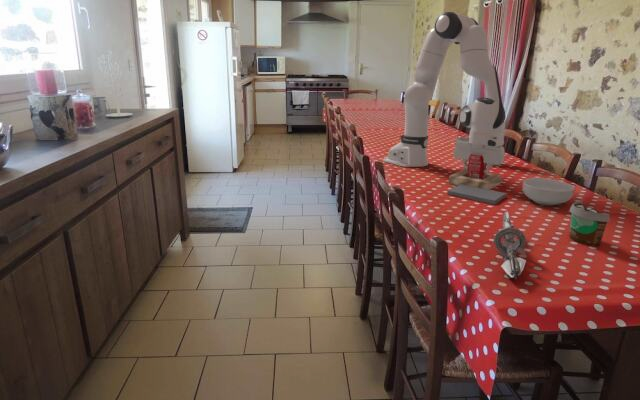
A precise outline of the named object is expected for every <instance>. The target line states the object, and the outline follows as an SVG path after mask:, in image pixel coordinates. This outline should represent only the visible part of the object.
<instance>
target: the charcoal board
mask: <svg viewBox="0 0 640 400" xmlns="http://www.w3.org/2000/svg"><path fill="white" fill-rule="evenodd" d="M448 194H449V196H453V195H454V196H453V197H457V196H458V198H463V199H466V200H471V201H472V200H473V201H477V202H481V203H485V204H490V205H496V204H497V203H499V202H500V201H502V200H503V199H505V198H506V197H507V193H506V192H501V191H496V190H492V189H490V190H487V189H482V188H477V187H472V186H467V185H462V184H460V185H458V186H456V185H455V186H454V187H453V188H450V189H448V190H447V195H448Z"/></svg>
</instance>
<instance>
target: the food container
mask: <svg viewBox="0 0 640 400" xmlns="http://www.w3.org/2000/svg"><path fill="white" fill-rule="evenodd" d="M569 212H570V213H571V217H570V226H569V239H570V240H571V241H573V242H576V243H578V244H581V245H585V244H586V245H585V246H590V245H595V246H594V247H600V245H601V242H602V239H603V237H604V233H605V230H606V227H607V224H608V223H609V222H610V221H611V220H610V215H611V214H610V213H601V212H600V211H598V210H597V209H595V208H593V207H589V206H587V205H585V204H583V200H579V201H575V202H572V205H570V208H569Z"/></svg>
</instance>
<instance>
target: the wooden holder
mask: <svg viewBox="0 0 640 400" xmlns="http://www.w3.org/2000/svg"><path fill="white" fill-rule="evenodd" d="M448 177H449V179H448V184H449V185H453V186H455V187H456V186H458V185H460V184H462V185H467V186H472V187H477V188H482V189H487V190H492V189H494V188H496V187H497V186H499V185H501V183H502V180H503V179H502V178H503V175H502V174H497V173H491V172H488V174H485V179H483V180H481V179H476V178H470V177H467V171H466V170H464V169H462V170H460V171H457V172H455V173H453V174H450V175H449V176H448Z"/></svg>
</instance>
